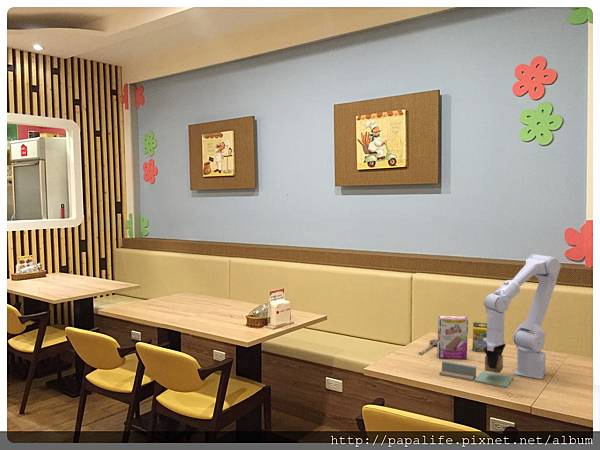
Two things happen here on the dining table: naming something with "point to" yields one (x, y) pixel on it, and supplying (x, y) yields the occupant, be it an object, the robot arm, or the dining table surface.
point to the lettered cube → (498, 367)
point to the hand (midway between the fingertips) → (494, 365)
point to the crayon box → (479, 336)
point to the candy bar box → (452, 337)
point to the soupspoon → (434, 342)
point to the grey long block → (458, 371)
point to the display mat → (494, 379)
